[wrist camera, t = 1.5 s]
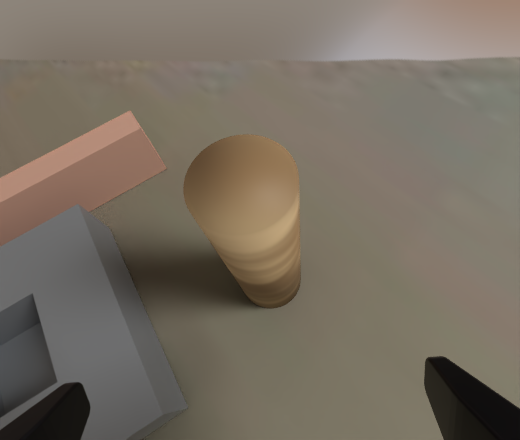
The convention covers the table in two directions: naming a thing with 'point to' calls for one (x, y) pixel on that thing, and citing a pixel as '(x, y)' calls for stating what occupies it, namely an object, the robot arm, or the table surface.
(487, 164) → the table surface
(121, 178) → the backstop wall
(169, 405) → the socket block
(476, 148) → the table surface
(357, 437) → the table surface
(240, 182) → the oak dowel
